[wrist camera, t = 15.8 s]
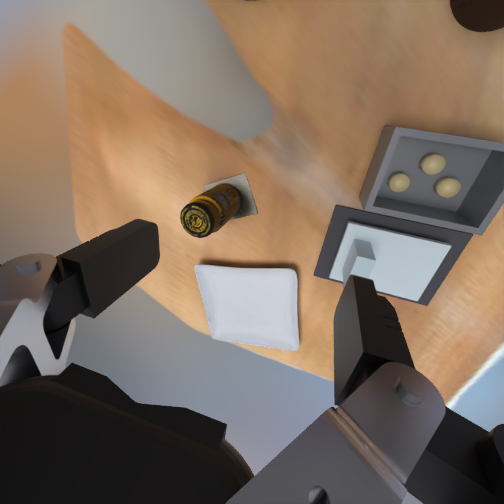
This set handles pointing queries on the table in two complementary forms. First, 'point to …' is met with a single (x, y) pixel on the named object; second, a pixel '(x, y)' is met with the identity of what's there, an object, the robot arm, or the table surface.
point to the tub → (435, 179)
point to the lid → (388, 259)
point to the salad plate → (251, 305)
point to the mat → (346, 214)
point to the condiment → (218, 206)
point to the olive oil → (479, 14)
